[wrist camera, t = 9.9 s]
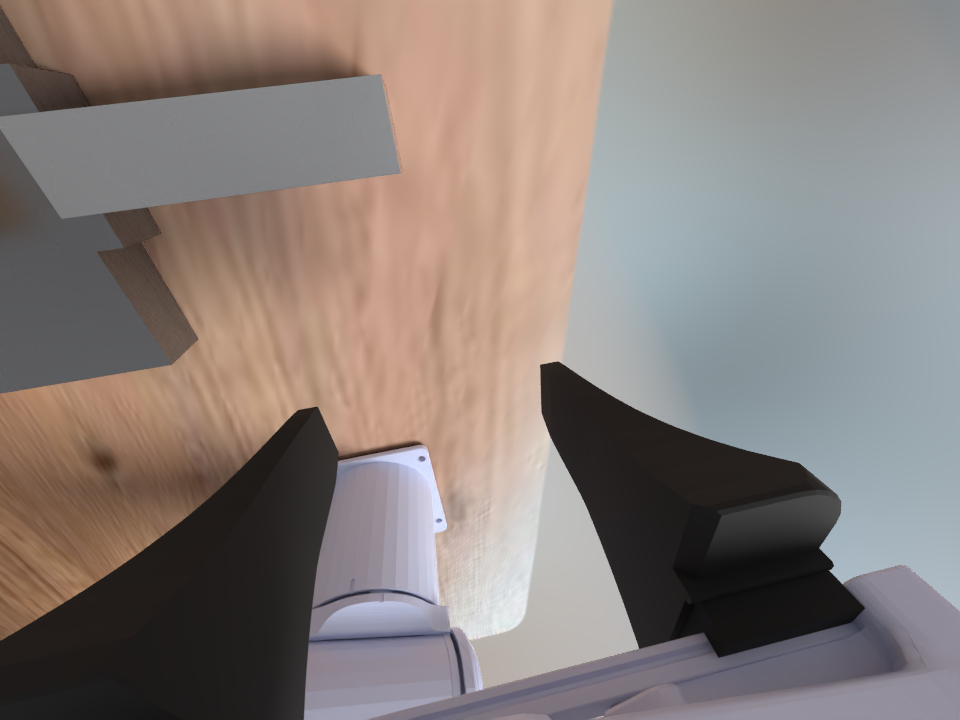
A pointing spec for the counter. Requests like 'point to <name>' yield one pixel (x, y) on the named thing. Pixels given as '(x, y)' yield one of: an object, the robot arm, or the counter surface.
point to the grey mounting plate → (142, 201)
